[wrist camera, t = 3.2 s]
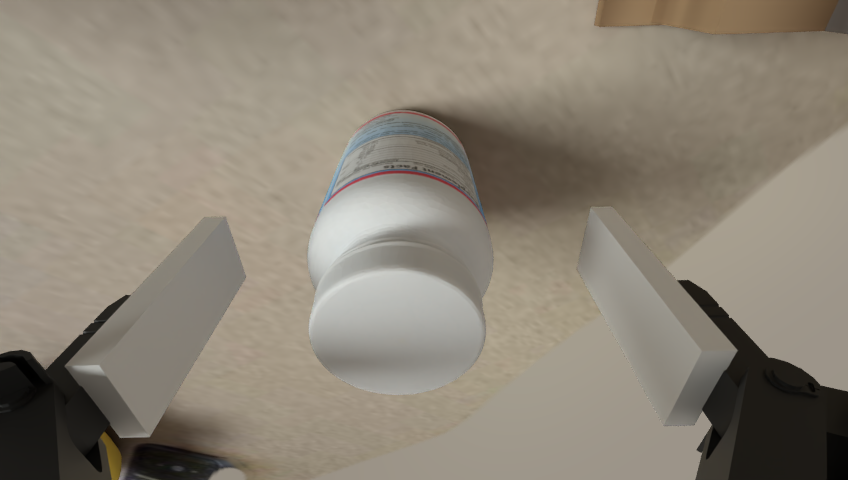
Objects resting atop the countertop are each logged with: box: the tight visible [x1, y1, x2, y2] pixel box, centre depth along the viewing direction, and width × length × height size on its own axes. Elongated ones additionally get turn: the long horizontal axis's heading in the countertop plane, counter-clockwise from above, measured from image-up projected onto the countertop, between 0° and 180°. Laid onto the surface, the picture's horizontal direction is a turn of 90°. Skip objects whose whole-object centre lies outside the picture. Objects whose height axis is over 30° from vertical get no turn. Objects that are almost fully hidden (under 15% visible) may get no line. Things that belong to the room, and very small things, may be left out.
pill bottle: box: [307, 110, 494, 395], centre depth 15 cm, size 6×6×11 cm
